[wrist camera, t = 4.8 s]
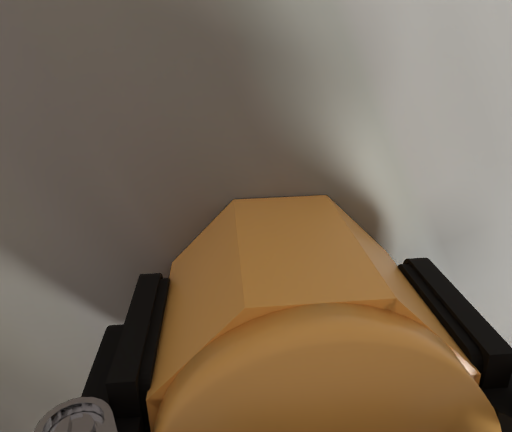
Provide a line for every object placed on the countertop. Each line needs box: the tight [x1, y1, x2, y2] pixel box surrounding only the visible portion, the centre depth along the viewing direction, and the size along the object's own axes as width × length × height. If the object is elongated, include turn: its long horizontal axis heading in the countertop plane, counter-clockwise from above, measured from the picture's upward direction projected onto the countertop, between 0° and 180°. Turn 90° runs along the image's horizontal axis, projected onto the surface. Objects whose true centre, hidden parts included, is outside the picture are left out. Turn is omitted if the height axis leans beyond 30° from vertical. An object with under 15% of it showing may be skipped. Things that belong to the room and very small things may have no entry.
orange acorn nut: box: [146, 195, 502, 432], centre depth 10 cm, size 6×6×6 cm
